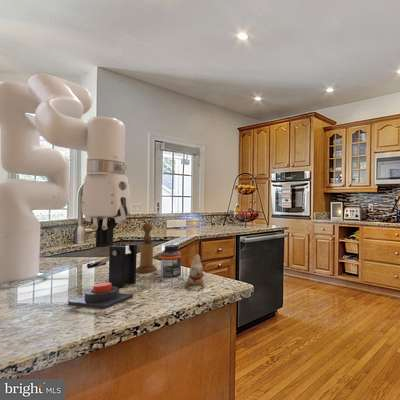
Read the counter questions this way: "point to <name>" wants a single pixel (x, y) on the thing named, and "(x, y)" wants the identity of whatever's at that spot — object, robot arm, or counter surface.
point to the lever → (105, 260)
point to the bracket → (122, 265)
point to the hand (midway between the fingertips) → (104, 246)
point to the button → (102, 287)
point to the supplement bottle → (171, 262)
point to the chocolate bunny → (196, 272)
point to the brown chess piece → (146, 252)
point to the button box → (101, 299)
